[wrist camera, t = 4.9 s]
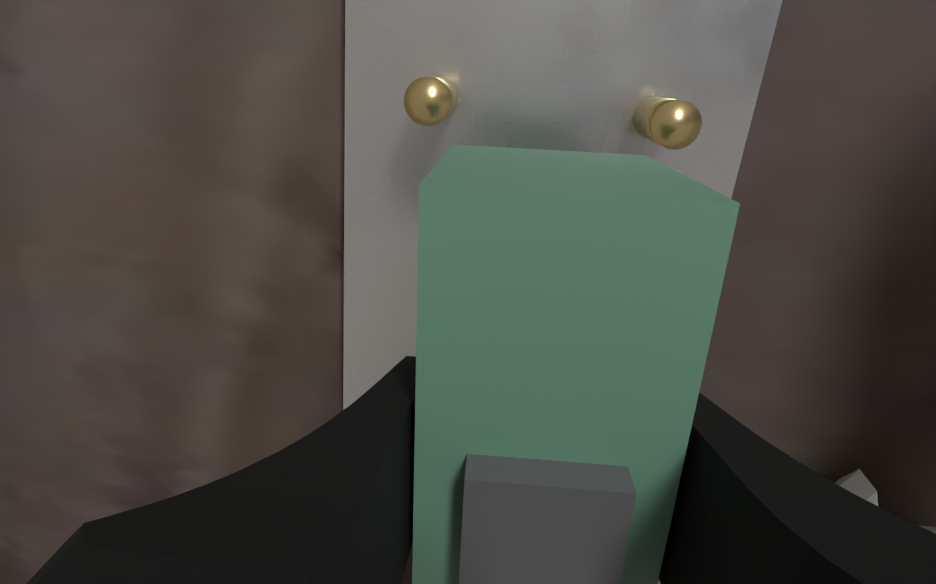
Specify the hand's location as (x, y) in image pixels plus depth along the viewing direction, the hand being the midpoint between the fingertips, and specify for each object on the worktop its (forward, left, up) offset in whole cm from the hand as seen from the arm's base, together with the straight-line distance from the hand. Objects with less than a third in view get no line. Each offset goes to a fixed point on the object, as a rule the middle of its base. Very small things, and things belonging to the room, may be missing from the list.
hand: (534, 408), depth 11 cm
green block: (0, -1, -2) cm, 2 cm away
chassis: (0, 0, -9) cm, 9 cm away
